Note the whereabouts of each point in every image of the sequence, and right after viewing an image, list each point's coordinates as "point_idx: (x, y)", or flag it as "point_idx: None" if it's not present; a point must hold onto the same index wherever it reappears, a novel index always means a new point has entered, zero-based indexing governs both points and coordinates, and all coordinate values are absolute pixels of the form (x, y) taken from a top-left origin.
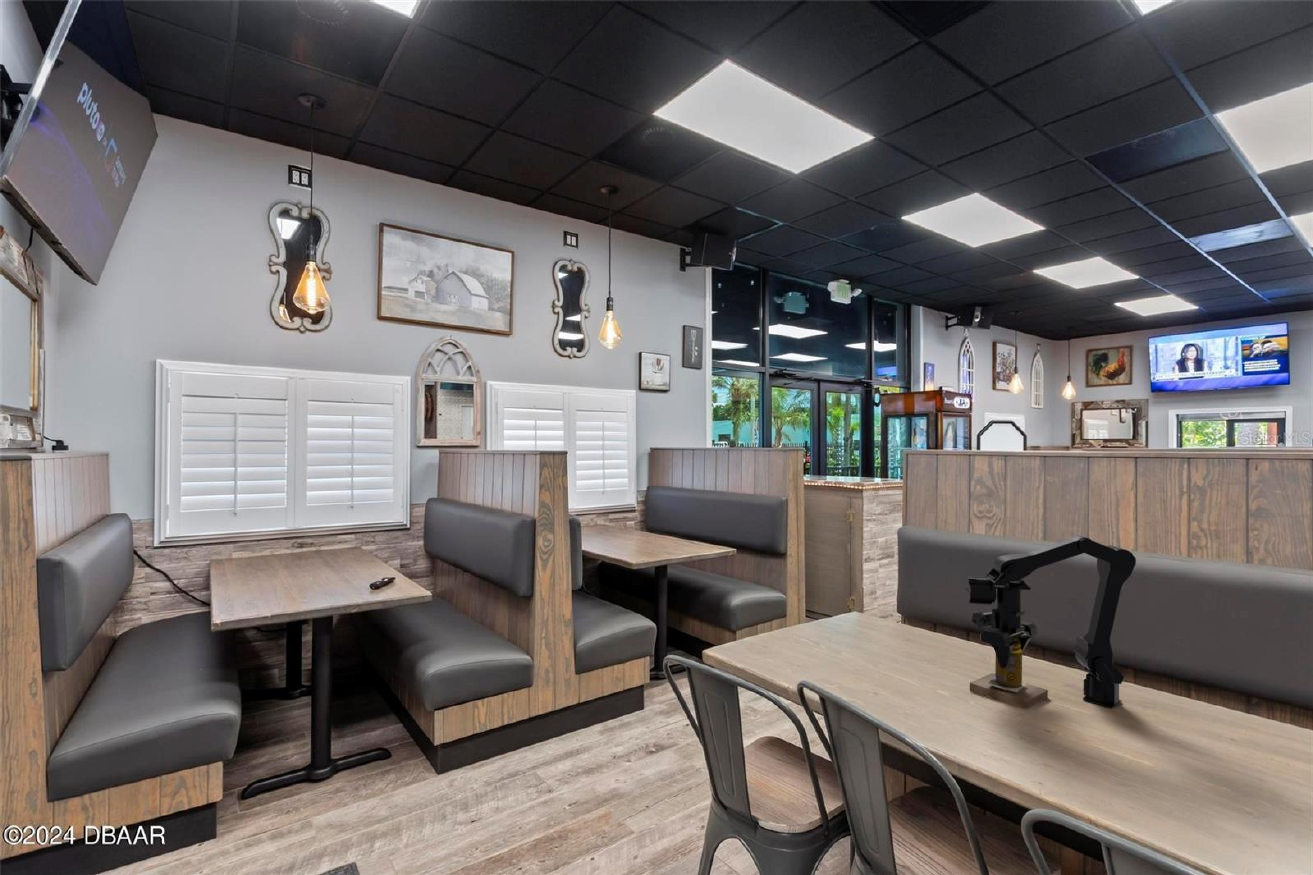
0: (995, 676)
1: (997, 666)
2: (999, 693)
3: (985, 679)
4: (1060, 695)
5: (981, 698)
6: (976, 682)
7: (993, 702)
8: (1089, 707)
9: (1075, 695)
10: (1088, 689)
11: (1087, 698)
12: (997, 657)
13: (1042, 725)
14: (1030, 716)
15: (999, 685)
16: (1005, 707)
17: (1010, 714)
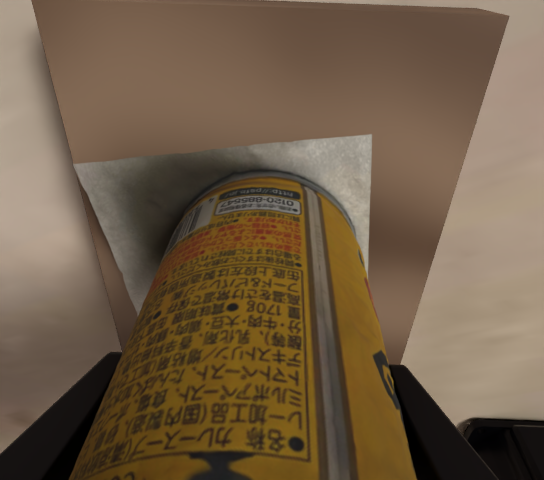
0: (206, 202)
1: (143, 306)
2: (97, 242)
3: (261, 60)
4: (472, 360)
5: (25, 135)
6: (103, 42)
7: (49, 208)
8: None
9: (521, 391)
10: (514, 473)
11: (479, 436)
12: (10, 449)
13: (48, 401)
14: (81, 360)
15: (153, 235)
16: (56, 271)
17: (5, 311)
